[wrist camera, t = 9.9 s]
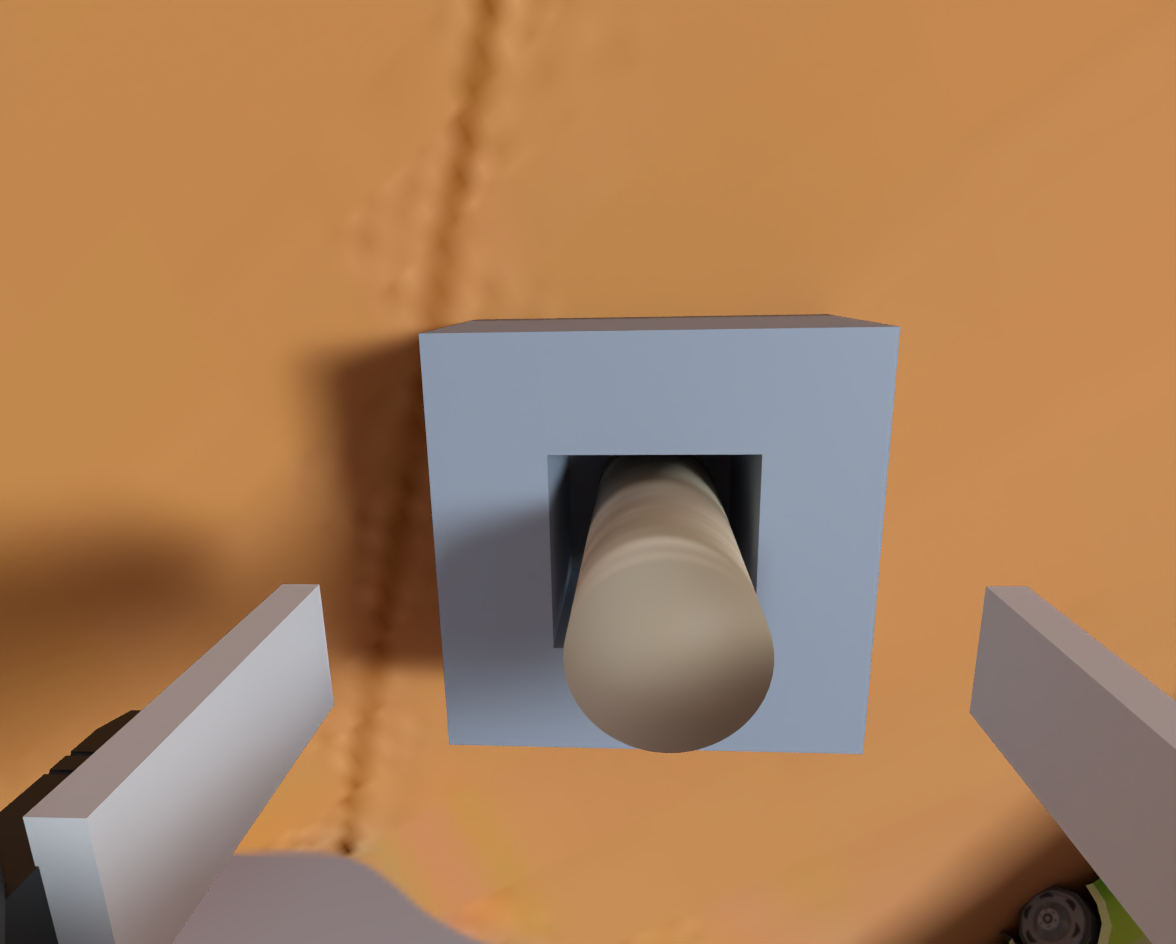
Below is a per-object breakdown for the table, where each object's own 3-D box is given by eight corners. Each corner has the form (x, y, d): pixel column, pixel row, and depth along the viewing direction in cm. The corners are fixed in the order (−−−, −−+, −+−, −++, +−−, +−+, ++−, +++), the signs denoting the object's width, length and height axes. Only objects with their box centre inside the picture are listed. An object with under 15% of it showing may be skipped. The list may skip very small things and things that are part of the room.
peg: (598, 546, 26) (565, 749, 15) (598, 436, 25) (561, 560, 14) (711, 548, 26) (769, 755, 14) (715, 436, 25) (779, 563, 13)
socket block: (493, 634, 29) (449, 744, 22) (476, 319, 26) (418, 333, 19) (807, 638, 28) (862, 753, 21) (828, 314, 25) (899, 326, 18)
